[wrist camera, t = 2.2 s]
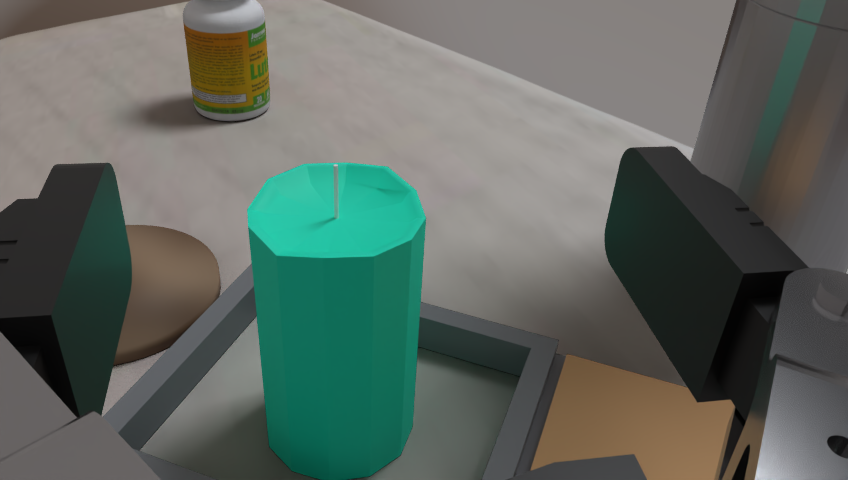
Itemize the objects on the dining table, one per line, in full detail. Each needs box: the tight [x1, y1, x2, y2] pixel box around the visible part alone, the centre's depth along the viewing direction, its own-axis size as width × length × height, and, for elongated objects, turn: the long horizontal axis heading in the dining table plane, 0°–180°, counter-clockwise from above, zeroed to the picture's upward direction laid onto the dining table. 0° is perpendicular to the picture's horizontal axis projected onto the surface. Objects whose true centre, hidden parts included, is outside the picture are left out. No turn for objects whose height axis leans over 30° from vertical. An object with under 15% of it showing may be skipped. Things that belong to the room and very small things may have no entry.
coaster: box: [113, 225, 221, 365], centre depth 37 cm, size 10×10×1 cm
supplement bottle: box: [183, 0, 270, 121], centre depth 52 cm, size 5×5×10 cm
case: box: [103, 264, 735, 480], centre depth 29 cm, size 13×30×2 cm, turn 70°
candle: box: [247, 163, 426, 480], centre depth 28 cm, size 6×6×12 cm
